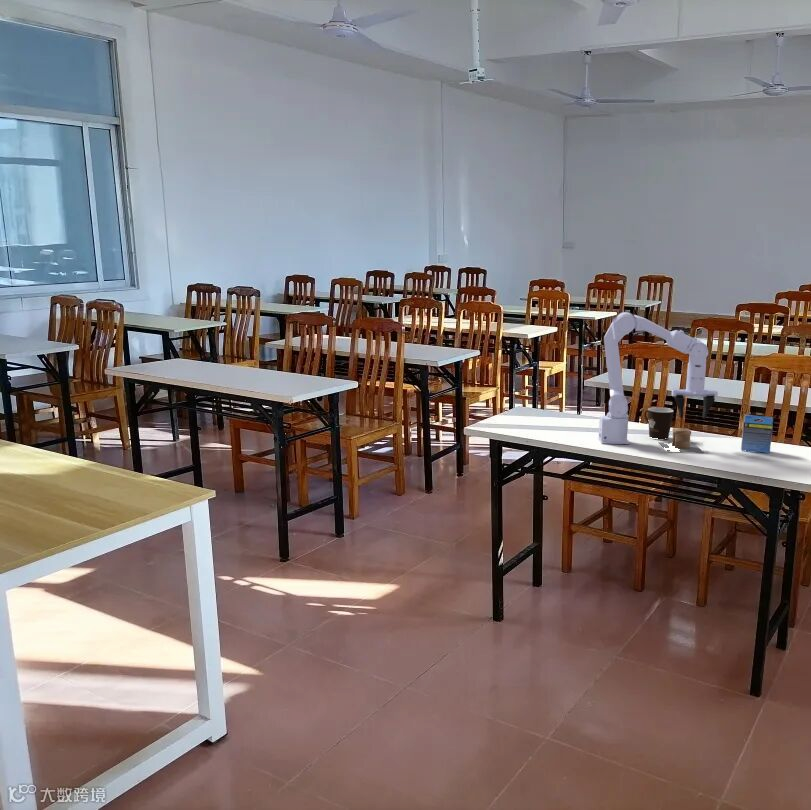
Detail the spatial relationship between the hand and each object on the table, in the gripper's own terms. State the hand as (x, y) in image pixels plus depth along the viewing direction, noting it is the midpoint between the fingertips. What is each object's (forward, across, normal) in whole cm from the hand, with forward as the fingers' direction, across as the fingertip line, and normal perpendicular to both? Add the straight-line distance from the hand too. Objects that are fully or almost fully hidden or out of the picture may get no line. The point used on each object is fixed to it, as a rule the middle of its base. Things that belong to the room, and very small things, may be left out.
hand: (692, 417), depth 278 cm
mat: (+10, -4, -3) cm, 11 cm away
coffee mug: (+10, -8, +13) cm, 18 cm away
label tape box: (+10, +20, -4) cm, 23 cm away
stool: (+10, -4, -3) cm, 11 cm away
